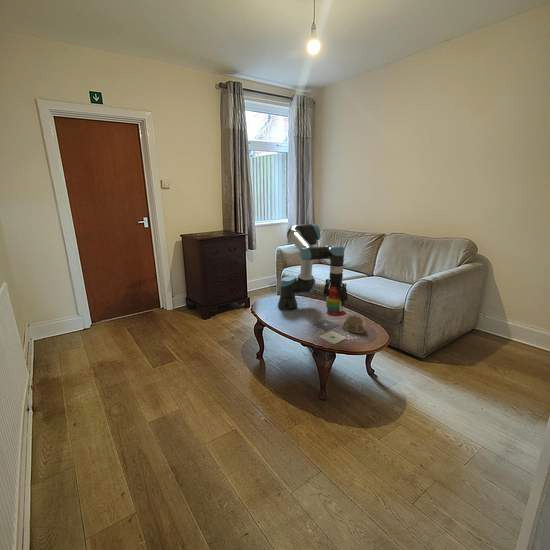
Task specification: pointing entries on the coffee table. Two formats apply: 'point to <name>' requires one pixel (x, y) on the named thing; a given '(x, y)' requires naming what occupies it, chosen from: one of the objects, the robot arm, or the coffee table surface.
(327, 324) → the pad
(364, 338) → the coffee table surface
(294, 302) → the robot arm
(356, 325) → the beige lumpy chunk
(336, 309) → the stacking bear
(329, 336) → the pad
